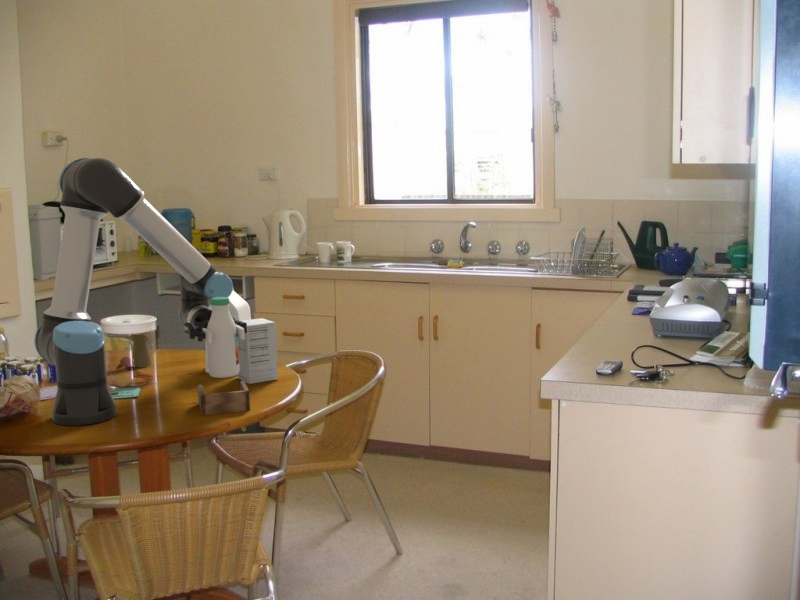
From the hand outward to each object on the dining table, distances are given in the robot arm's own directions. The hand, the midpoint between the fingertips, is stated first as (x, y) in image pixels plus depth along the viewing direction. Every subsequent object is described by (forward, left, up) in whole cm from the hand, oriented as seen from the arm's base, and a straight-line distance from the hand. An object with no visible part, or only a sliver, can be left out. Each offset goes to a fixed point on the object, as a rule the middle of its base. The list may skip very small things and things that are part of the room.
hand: (226, 336), depth 223 cm
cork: (-21, +60, -19) cm, 66 cm away
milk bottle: (-1, +5, -11) cm, 12 cm away
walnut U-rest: (-1, +5, -19) cm, 20 cm away
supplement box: (+11, +31, -19) cm, 38 cm away
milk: (+5, +47, -19) cm, 51 cm away
